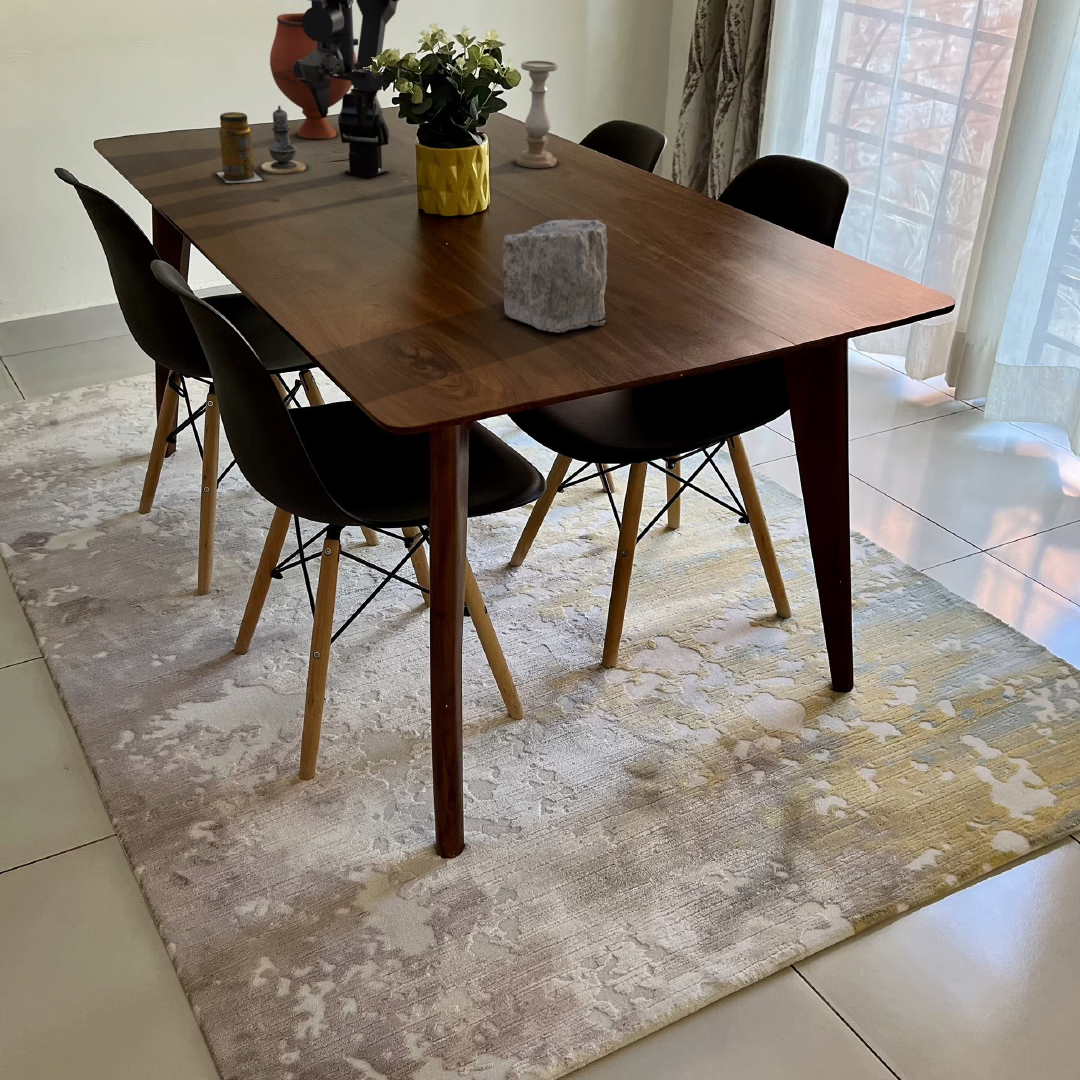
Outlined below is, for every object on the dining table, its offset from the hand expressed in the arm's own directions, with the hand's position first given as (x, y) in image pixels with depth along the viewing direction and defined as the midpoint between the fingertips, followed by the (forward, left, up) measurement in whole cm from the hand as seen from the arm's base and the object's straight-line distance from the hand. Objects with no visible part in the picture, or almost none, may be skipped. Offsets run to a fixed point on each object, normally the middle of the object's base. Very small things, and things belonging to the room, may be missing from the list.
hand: (342, 121), depth 227 cm
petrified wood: (+30, +69, -13) cm, 76 cm away
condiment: (+7, -22, -13) cm, 27 cm away
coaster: (-4, -20, -13) cm, 25 cm away
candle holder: (-42, +17, -13) cm, 47 cm away
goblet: (-30, -35, -13) cm, 48 cm away
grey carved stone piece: (-4, -20, -13) cm, 24 cm away
